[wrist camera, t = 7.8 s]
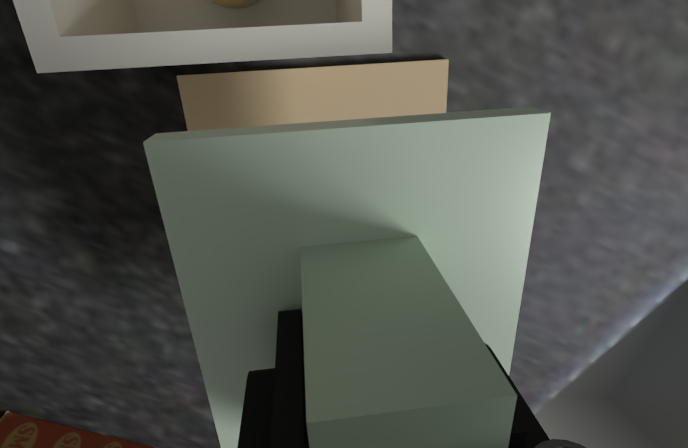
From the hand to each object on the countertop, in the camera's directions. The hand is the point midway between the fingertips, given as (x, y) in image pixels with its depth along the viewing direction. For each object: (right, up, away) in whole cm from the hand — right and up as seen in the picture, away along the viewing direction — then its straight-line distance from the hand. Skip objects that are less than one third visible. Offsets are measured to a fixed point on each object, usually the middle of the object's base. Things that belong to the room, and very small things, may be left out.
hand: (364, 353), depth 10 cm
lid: (0, 0, +1) cm, 1 cm away
